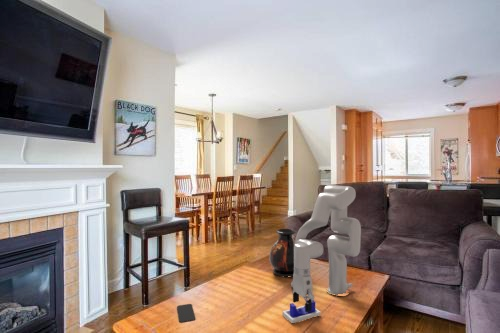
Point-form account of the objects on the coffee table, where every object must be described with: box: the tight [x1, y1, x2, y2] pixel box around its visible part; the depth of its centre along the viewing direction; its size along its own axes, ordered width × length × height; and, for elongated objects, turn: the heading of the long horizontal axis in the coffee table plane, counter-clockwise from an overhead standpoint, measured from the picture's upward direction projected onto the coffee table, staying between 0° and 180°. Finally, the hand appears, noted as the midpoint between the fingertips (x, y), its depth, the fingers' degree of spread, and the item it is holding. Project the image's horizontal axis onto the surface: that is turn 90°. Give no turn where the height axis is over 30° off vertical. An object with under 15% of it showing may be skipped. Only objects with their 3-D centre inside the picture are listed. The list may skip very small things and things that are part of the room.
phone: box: [176, 303, 196, 324], centre depth 133 cm, size 7×1×15 cm
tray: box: [281, 305, 322, 324], centre depth 131 cm, size 16×8×2 cm, turn 115°
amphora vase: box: [268, 228, 297, 278], centre depth 183 cm, size 22×22×28 cm
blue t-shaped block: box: [289, 300, 316, 318], centre depth 131 cm, size 12×4×6 cm, turn 111°
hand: (302, 306), depth 131 cm, fingers open, 9 cm apart
